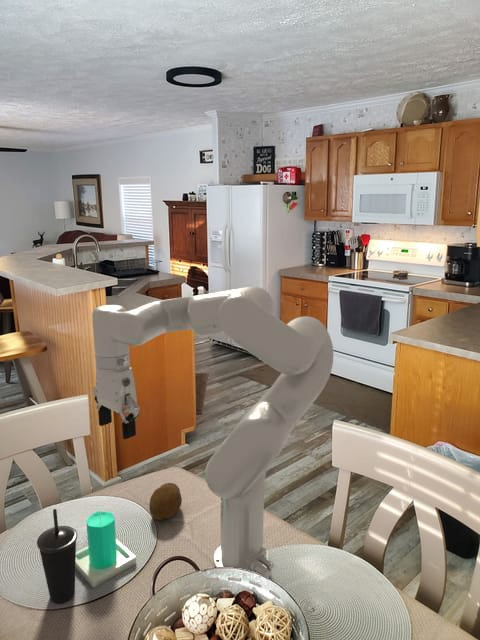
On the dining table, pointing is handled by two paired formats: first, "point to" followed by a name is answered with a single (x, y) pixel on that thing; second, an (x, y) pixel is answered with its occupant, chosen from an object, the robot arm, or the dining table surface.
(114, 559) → the candle
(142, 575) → the dining table surface
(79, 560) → the tray
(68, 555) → the drinking cup
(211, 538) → the dining table surface
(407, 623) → the dining table surface
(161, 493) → the potato
